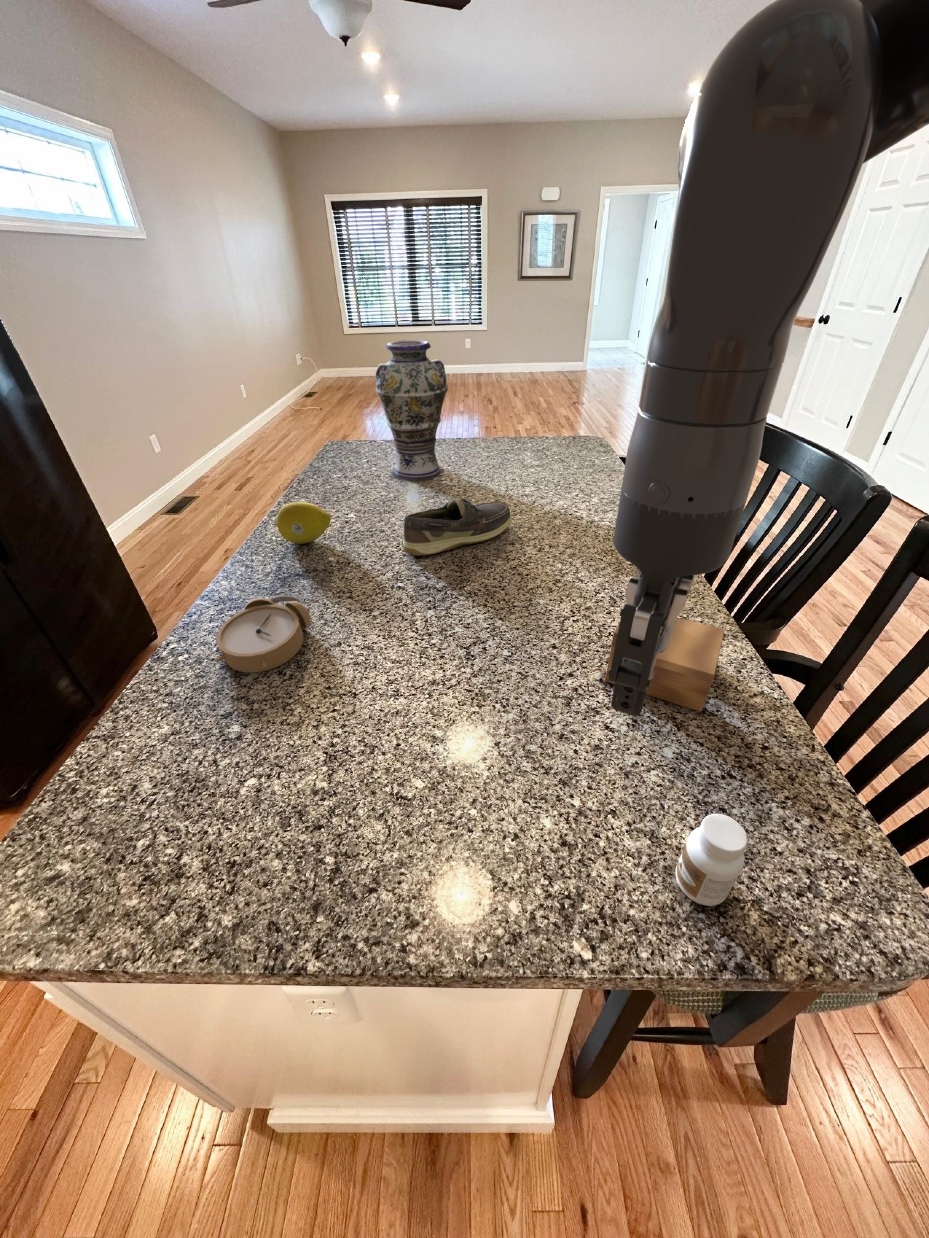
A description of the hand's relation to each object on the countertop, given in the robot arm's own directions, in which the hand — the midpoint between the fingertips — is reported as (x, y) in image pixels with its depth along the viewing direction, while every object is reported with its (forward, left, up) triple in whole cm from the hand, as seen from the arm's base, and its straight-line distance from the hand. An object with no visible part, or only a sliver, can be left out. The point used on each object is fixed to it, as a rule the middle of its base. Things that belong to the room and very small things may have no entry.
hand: (639, 676), depth 42 cm
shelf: (0, -23, -18) cm, 29 cm away
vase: (+72, -75, -18) cm, 105 cm away
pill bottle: (-9, +4, -18) cm, 20 cm away
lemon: (+70, -31, -18) cm, 78 cm away
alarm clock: (+52, -4, -18) cm, 55 cm away
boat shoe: (+43, -46, -18) cm, 65 cm away
